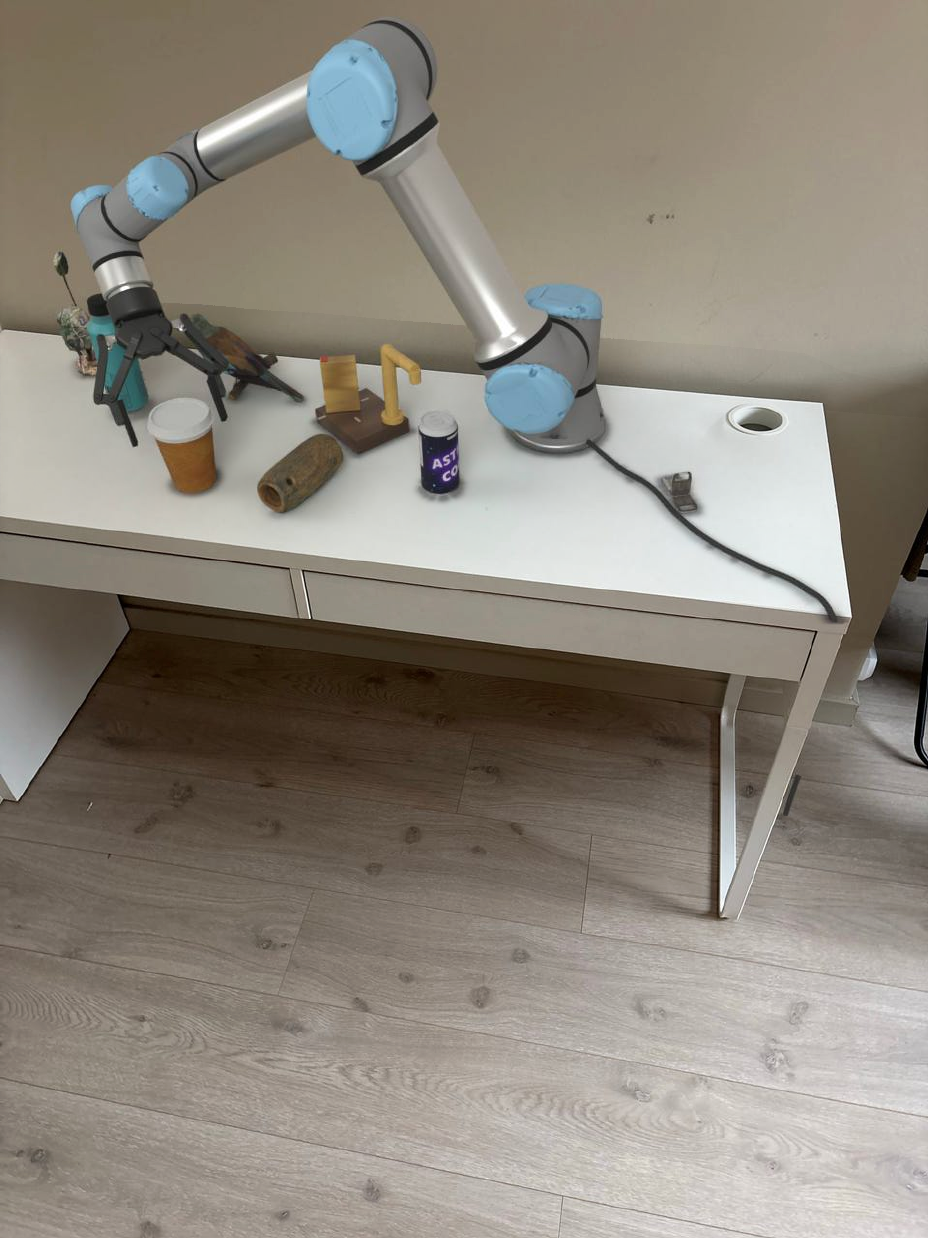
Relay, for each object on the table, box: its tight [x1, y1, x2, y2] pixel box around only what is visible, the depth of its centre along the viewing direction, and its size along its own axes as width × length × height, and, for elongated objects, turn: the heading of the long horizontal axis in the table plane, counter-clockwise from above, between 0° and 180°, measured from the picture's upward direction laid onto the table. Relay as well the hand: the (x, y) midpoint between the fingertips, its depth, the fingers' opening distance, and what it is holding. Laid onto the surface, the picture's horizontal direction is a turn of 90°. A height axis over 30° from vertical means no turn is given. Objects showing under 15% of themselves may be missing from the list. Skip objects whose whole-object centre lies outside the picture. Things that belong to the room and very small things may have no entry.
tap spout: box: [379, 343, 422, 425], centre depth 156 cm, size 10×4×13 cm, turn 38°
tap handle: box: [319, 354, 361, 413], centre depth 161 cm, size 6×2×9 cm, turn 97°
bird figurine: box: [189, 313, 305, 403], centre depth 170 cm, size 13×10×20 cm
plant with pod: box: [52, 250, 98, 377], centre depth 174 cm, size 8×11×20 cm
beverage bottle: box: [86, 292, 150, 412], centre depth 163 cm, size 6×7×20 cm
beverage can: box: [417, 409, 460, 497], centre depth 149 cm, size 6×6×12 cm
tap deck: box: [315, 387, 410, 455], centre depth 165 cm, size 14×11×3 cm
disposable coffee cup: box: [146, 397, 217, 494], centre depth 151 cm, size 10×10×12 cm
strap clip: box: [661, 470, 698, 514], centre depth 149 cm, size 8×3×4 cm, turn 11°
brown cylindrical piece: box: [256, 433, 345, 514], centre depth 151 cm, size 15×7×7 cm, turn 155°
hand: (180, 431), depth 151 cm, fingers open, 13 cm apart
